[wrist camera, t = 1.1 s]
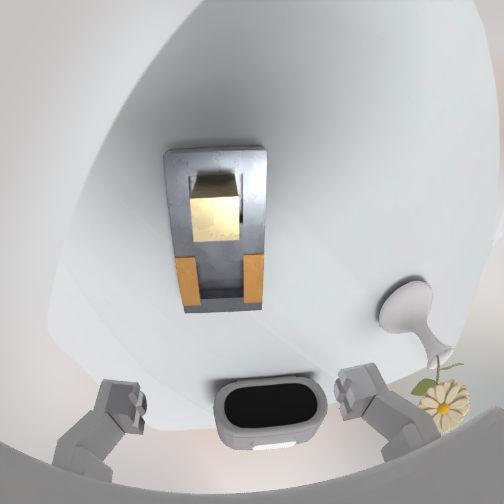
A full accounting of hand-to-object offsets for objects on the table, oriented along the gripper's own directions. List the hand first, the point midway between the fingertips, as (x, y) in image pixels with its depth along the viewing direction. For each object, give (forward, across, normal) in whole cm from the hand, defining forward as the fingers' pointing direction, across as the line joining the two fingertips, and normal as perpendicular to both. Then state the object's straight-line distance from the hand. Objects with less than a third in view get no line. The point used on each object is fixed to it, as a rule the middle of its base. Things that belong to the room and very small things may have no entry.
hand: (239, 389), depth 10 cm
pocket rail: (+24, +1, +4) cm, 24 cm away
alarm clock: (+26, -6, +39) cm, 47 cm away
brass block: (+23, +1, -1) cm, 23 cm away
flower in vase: (+25, -29, +19) cm, 42 cm away
